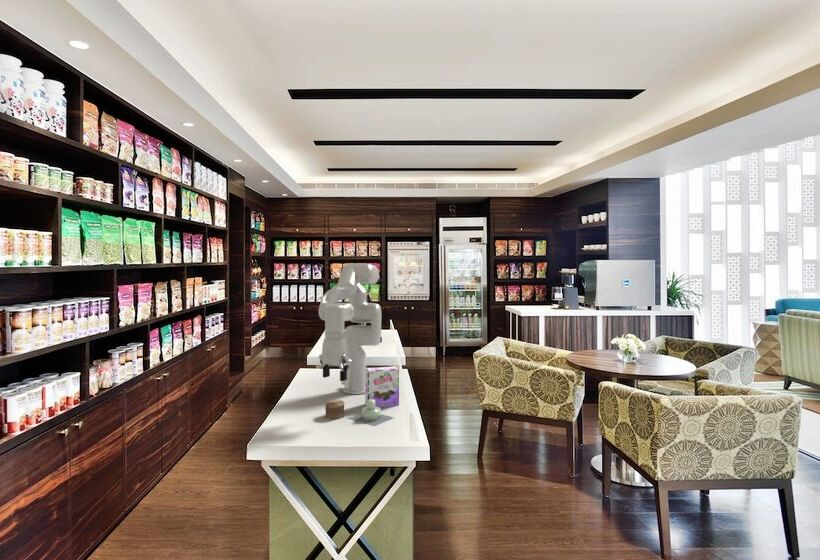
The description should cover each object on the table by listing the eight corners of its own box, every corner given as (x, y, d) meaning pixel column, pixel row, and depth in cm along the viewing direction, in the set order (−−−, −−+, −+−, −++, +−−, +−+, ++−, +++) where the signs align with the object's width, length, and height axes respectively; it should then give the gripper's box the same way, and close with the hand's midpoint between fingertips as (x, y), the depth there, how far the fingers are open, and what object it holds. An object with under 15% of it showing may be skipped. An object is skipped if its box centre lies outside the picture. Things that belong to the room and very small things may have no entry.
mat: (347, 419, 182) (347, 418, 182) (368, 412, 192) (368, 410, 192) (374, 427, 174) (374, 426, 174) (394, 419, 184) (394, 417, 184)
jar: (357, 418, 182) (357, 400, 182) (370, 413, 188) (370, 396, 188) (371, 422, 178) (371, 404, 177) (384, 417, 184) (384, 399, 183)
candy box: (367, 409, 196) (367, 370, 195) (365, 405, 202) (365, 367, 201) (399, 406, 200) (399, 368, 199) (396, 402, 205) (396, 365, 205)
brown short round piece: (321, 418, 185) (321, 402, 184) (335, 413, 190) (335, 398, 190) (334, 421, 180) (334, 406, 180) (348, 416, 186) (348, 401, 186)
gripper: (312, 334, 186) (312, 377, 187) (343, 339, 176) (343, 384, 176) (326, 332, 192) (326, 374, 193) (357, 336, 182) (357, 380, 182)
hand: (334, 378), depth 184 cm, fingers open, 9 cm apart
